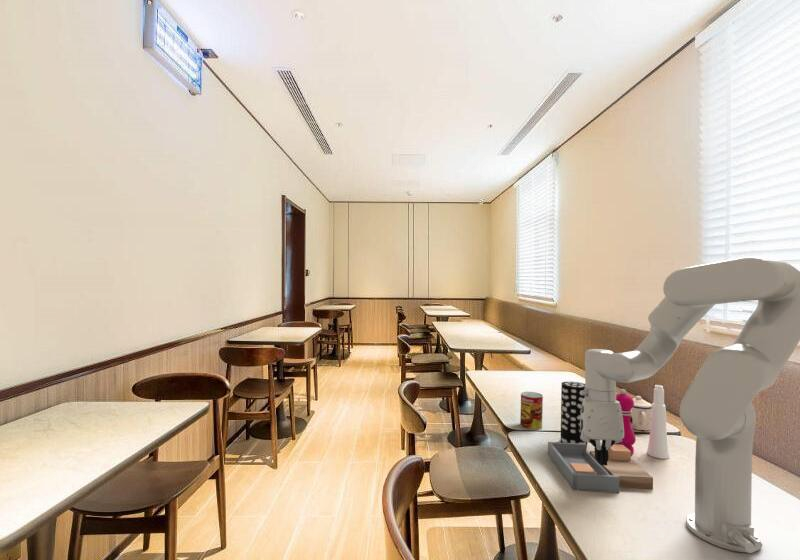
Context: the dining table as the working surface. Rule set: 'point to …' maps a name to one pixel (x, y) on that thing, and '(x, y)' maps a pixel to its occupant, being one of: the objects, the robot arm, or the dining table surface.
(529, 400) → the canned food
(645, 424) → the teacup with lid
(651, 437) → the cosmetic bottle
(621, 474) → the board
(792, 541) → the dining table surface
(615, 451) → the tile
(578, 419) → the spotted tube
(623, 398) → the pepper mill
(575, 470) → the tile
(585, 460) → the box
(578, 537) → the dining table surface
